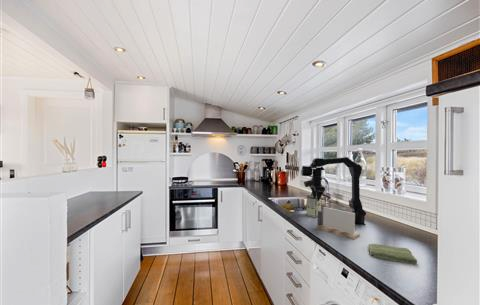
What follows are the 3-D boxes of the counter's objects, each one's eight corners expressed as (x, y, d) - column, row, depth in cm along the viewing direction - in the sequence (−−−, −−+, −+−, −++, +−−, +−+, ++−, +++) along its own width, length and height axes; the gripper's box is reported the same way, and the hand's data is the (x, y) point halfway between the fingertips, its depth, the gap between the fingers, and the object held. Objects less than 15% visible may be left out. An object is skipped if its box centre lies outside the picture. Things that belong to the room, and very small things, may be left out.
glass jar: (308, 212, 174) (308, 194, 174) (322, 214, 169) (322, 196, 169) (304, 215, 165) (305, 196, 165) (318, 217, 160) (319, 198, 160)
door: (354, 233, 125) (355, 213, 125) (353, 234, 124) (354, 213, 124) (321, 224, 139) (322, 206, 139) (320, 225, 138) (321, 206, 138)
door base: (359, 236, 126) (360, 218, 126) (353, 239, 120) (354, 221, 120) (321, 225, 143) (322, 209, 143) (314, 227, 138) (315, 211, 138)
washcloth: (366, 247, 112) (367, 240, 112) (409, 254, 105) (410, 247, 105) (370, 257, 100) (370, 250, 100) (418, 267, 93) (418, 259, 93)
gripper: (302, 174, 162) (301, 196, 162) (308, 177, 143) (307, 201, 143) (317, 175, 161) (317, 196, 161) (325, 178, 143) (325, 202, 143)
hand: (316, 199), depth 152 cm, fingers open, 9 cm apart
